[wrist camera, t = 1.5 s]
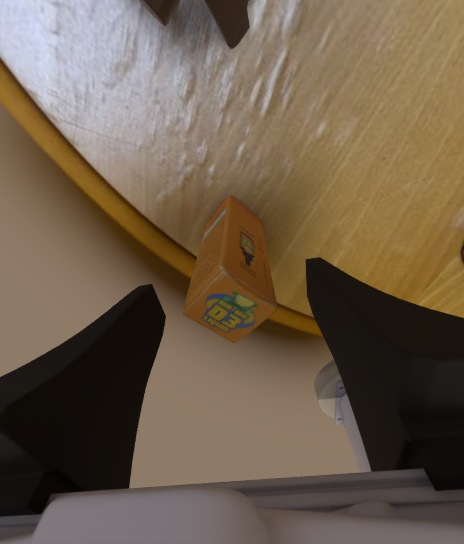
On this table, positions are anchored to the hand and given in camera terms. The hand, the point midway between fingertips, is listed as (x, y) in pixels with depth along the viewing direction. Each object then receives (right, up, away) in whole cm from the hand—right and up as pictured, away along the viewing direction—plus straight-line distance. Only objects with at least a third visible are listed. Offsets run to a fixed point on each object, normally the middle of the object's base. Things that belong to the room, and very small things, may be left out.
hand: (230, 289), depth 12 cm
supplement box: (0, +5, +8) cm, 9 cm away
